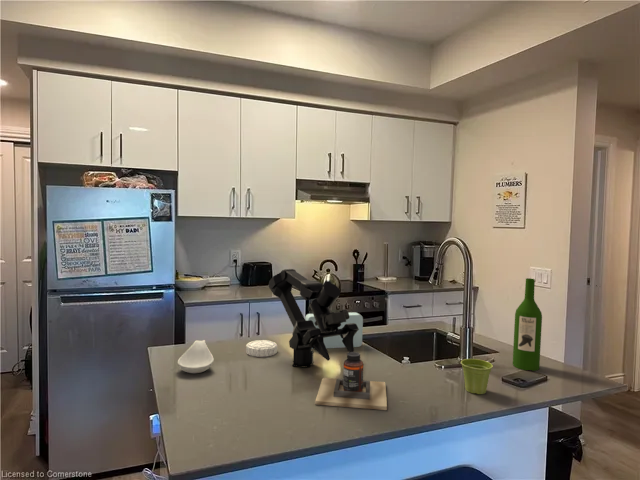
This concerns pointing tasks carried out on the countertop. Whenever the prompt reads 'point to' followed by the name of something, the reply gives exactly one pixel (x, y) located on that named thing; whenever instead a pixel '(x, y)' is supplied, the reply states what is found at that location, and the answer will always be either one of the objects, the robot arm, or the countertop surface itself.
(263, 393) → the countertop surface
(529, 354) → the wine bottle
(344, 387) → the supplement bottle
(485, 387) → the plant pot
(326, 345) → the pale blue rectangular block
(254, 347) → the mooncake
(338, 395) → the board
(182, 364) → the spoon rest
